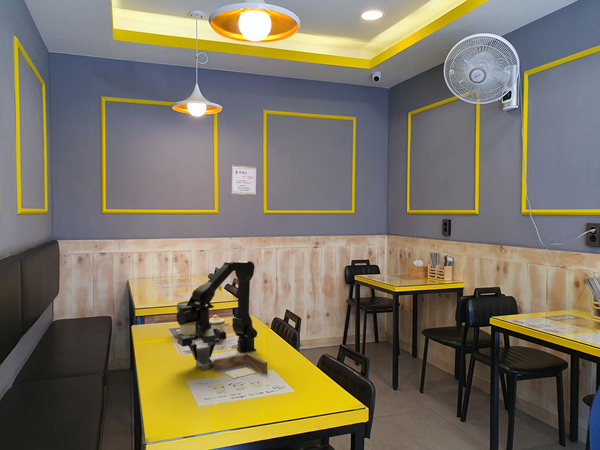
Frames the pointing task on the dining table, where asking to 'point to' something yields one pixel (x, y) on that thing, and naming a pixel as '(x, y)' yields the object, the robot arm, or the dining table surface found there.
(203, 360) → the bracket
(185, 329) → the reusable coffee cup
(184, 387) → the dining table surface
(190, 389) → the dining table surface
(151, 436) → the dining table surface
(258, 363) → the brown l-shaped piece
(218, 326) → the teacup with lid
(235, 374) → the beige flat tile
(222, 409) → the dining table surface
